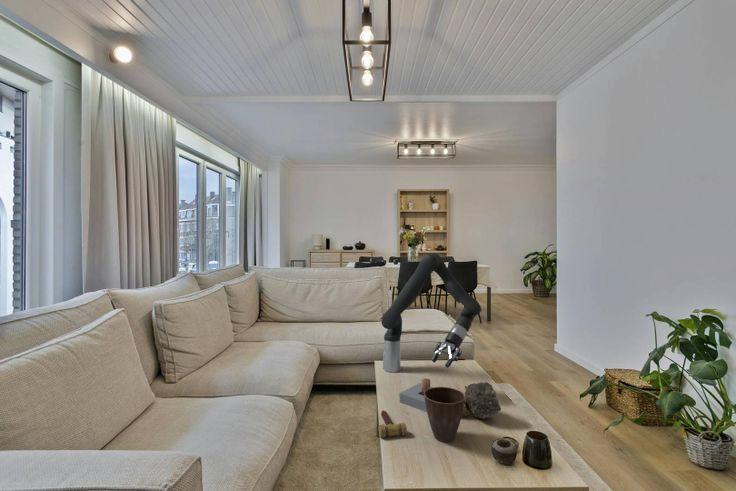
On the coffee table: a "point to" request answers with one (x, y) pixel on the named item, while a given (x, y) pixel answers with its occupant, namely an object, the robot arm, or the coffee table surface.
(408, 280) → the robot arm
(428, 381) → the cherry peg
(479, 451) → the coffee table surface
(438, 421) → the plant pot
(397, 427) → the gavel
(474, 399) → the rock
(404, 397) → the slate socket board
